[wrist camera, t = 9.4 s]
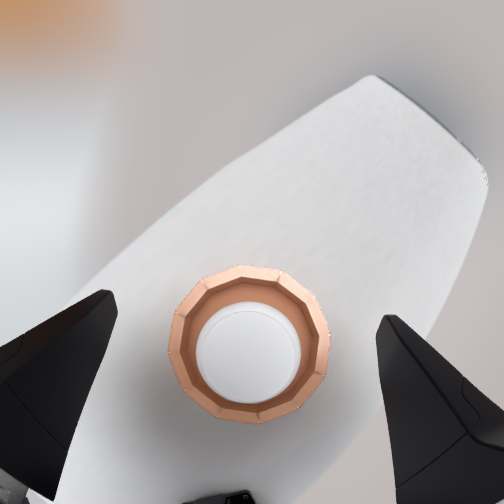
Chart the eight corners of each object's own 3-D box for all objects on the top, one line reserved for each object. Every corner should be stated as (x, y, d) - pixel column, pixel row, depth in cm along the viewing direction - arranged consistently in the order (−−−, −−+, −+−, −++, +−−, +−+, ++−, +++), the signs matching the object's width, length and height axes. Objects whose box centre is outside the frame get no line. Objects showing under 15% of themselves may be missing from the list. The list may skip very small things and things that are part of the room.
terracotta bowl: (338, 378, 21) (351, 384, 18) (211, 427, 20) (205, 441, 17) (287, 255, 24) (292, 243, 21) (162, 303, 23) (149, 298, 20)
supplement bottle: (216, 306, 22) (190, 286, 13) (289, 313, 22) (318, 299, 12) (208, 378, 21) (177, 409, 11) (282, 385, 20) (305, 422, 11)
